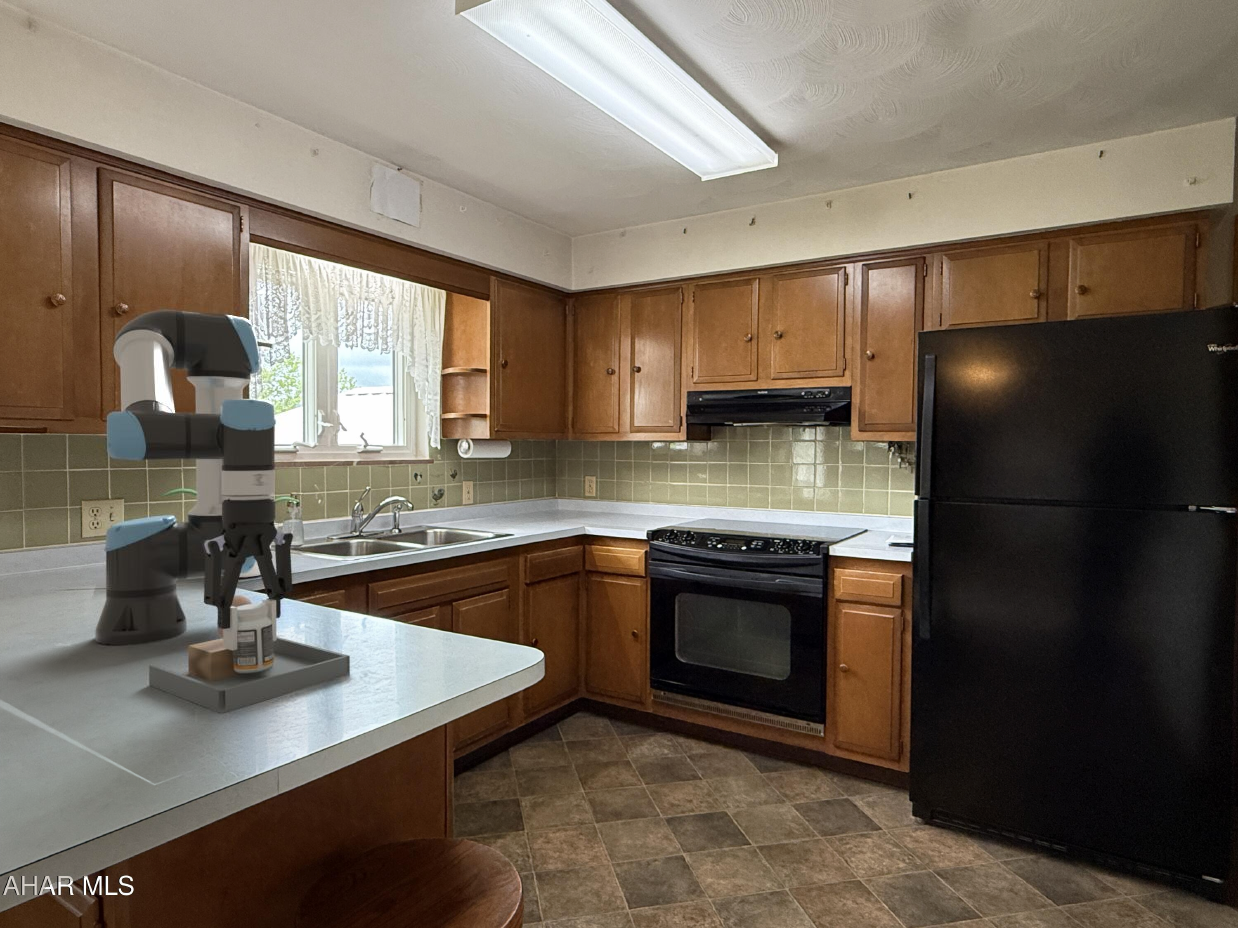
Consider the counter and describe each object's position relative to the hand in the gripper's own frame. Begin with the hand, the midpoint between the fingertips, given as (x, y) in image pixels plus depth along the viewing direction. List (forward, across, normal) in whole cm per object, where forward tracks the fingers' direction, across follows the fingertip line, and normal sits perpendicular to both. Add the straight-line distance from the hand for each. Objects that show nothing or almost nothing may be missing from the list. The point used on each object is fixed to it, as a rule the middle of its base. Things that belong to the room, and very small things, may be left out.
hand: (250, 643), depth 115 cm
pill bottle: (+4, 0, -1) cm, 4 cm away
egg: (+6, +10, +22) cm, 25 cm away
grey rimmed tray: (+6, 0, 0) cm, 6 cm away
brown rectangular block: (+6, 0, +6) cm, 8 cm away
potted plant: (+6, +48, +94) cm, 106 cm away
